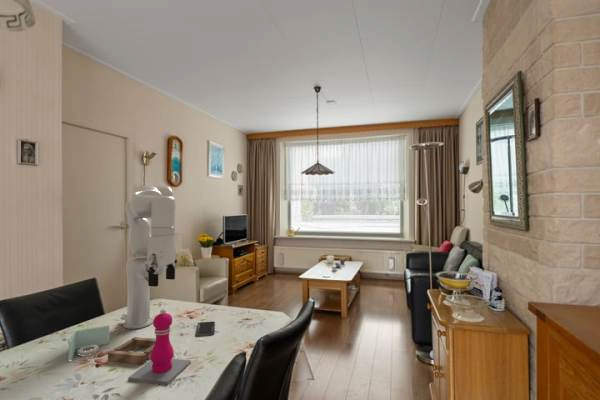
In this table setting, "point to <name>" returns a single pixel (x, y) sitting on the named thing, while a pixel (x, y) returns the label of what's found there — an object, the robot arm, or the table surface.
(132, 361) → the collar
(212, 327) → the phone
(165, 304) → the table surface
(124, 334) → the table surface
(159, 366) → the pepper mill
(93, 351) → the right angle wall
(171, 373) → the slate tile
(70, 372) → the table surface
